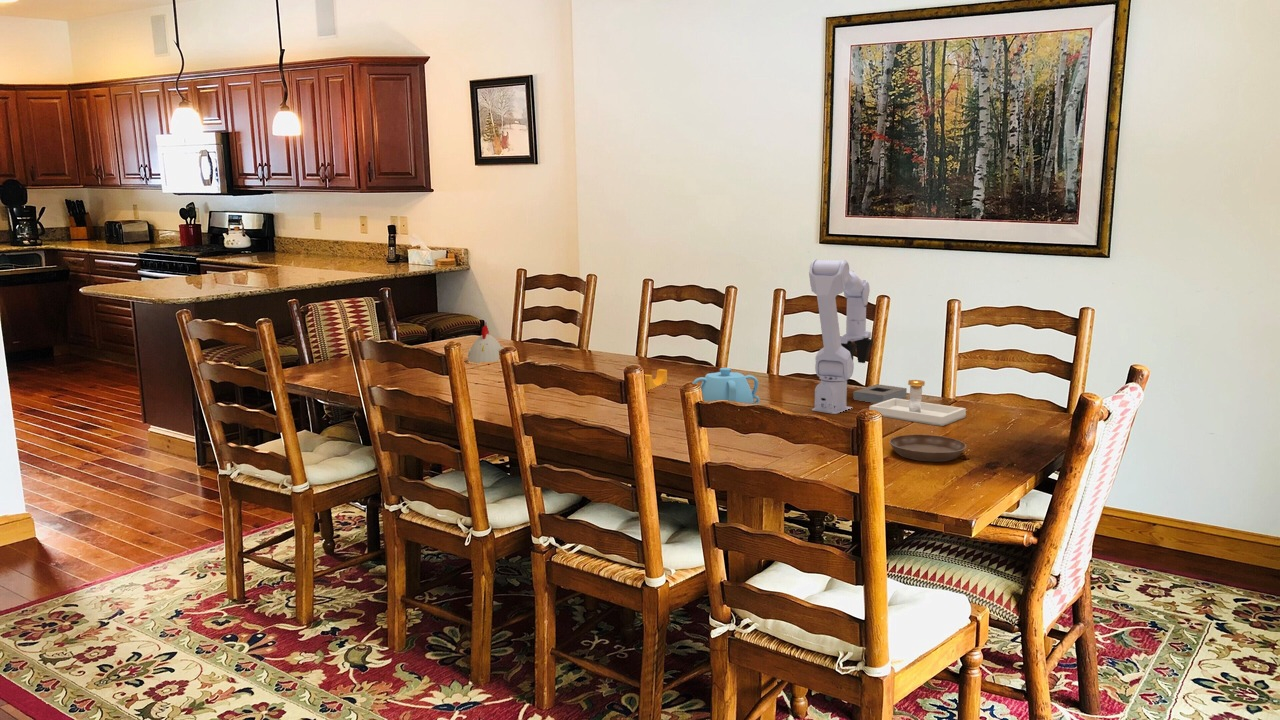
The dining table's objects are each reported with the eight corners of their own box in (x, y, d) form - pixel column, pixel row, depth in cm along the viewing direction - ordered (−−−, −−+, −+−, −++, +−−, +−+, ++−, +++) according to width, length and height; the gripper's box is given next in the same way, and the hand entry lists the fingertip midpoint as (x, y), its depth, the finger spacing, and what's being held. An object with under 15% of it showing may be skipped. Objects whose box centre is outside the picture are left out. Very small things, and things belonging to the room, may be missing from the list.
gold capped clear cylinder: (917, 415, 277) (919, 383, 275) (903, 412, 280) (905, 381, 278) (925, 412, 280) (927, 381, 278) (911, 410, 283) (913, 379, 281)
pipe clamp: (655, 388, 323) (655, 368, 322) (667, 389, 321) (667, 369, 320) (637, 395, 313) (637, 375, 312) (649, 396, 311) (649, 376, 310)
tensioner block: (882, 405, 292) (883, 395, 292) (853, 401, 299) (853, 391, 299) (906, 397, 303) (906, 388, 302) (876, 393, 309) (877, 384, 309)
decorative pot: (729, 424, 272) (730, 375, 270) (684, 416, 283) (684, 368, 280) (765, 414, 284) (765, 367, 281) (720, 406, 294) (721, 361, 292)
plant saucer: (936, 442, 250) (936, 430, 250) (981, 460, 234) (982, 447, 233) (875, 449, 245) (875, 437, 244) (916, 468, 228) (917, 455, 228)
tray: (942, 426, 266) (942, 417, 266) (869, 414, 281) (869, 405, 281) (965, 417, 276) (965, 408, 276) (893, 406, 291) (894, 398, 291)
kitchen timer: (464, 369, 362) (462, 328, 360) (472, 362, 376) (470, 323, 373) (502, 369, 361) (500, 328, 359) (508, 362, 375) (507, 323, 372)
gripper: (855, 323, 291) (854, 369, 294) (880, 318, 302) (879, 362, 304) (834, 321, 296) (833, 366, 299) (859, 316, 307) (858, 360, 309)
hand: (855, 364), depth 302 cm, fingers open, 7 cm apart
